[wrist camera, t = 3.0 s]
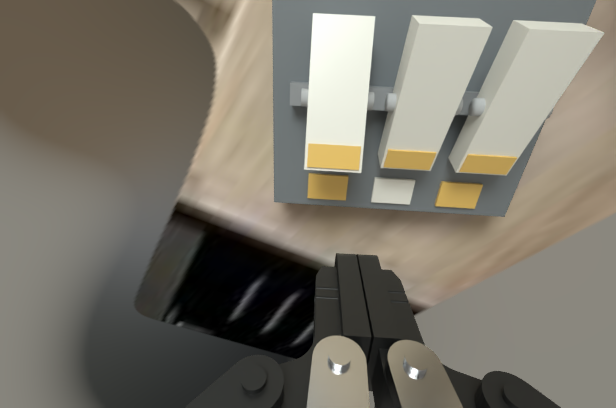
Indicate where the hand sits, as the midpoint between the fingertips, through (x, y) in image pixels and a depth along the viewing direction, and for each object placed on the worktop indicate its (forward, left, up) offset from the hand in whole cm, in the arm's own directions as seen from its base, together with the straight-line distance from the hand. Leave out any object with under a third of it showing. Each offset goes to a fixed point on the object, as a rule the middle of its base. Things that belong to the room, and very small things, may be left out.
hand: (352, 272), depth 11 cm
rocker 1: (-4, 0, -14) cm, 14 cm away
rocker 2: (-5, +12, -13) cm, 18 cm away
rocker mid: (-5, +6, -13) cm, 15 cm away
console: (-4, +6, -20) cm, 21 cm away
